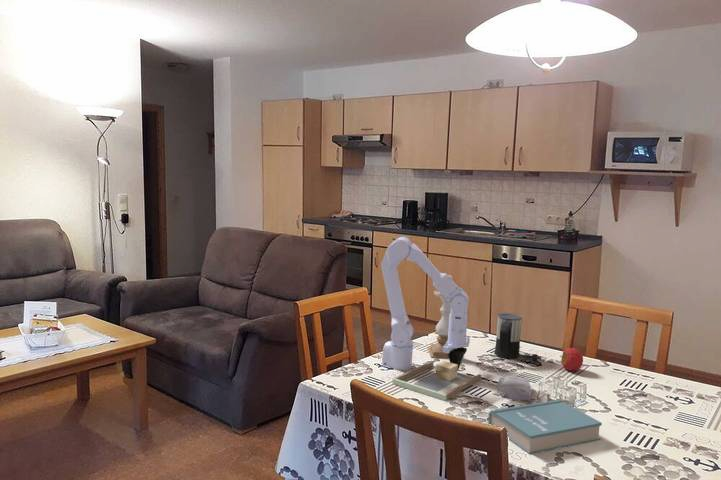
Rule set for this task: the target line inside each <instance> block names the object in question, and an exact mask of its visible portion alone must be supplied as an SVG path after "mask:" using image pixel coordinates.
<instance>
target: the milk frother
mask: <svg viewBox="0 0 721 480" xmlns="http://www.w3.org/2000/svg"><path fill="white" fill-rule="evenodd" d="M522 321H523V316H522V315H519V314H516V313H511V312H499V313H497V323H496V324H497V326H496V337H495V339H496V340H495V347H494V355H495V356H498V357H500V358H504V359H517V358H521V359H531V361H532V362H538V360H542V357H541V356H539V355H538V354H537V353H531V354H520V348H521V347H520V345H521V344H520V343H521V334H522Z"/></svg>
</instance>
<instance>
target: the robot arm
mask: <svg viewBox="0 0 721 480" xmlns="http://www.w3.org/2000/svg"><path fill="white" fill-rule="evenodd" d="M405 258H406V261H408V262H412V263H416V264H417V265H418V266H419V267H420V268H421V269H422V270H423V271H424V272H425V273H426V274H427V275H428V276H429V277H430V278H431V279H432V286H433V287H434V288H435V290H438V291H439V293H440V294H441V295H442V296H443V297H444V298H445V299H446V300H448V301H449V304H450V307H451V312H450V315H449V330H448V341H447V342H446V344H445V346H443V352H444V353H447V354H448V357H449V359H448V360H449V362H450V363H454V364H457V365H458V370H457V371H459V370H460V367H461V364H462V361H463V358H464V356H465V354H466V353H467V352H468V349H467V348H468V347H469V346H470V343H471V342H470V341H471V340H470V337H467V328H468V311H469V310H468V308H469V303H470V302H469V301H470V300H469V295H468V294H467V292H466V290H463V288H462V287H461V286H460V287H459V286H458V284H456V282H455V281H454V280H453V276H452V275H451V274H449V275H448V273H444V272H440V271H439V269H437V267H436V266H435V265H434V264H433V263H432V262H431V260H430V259H429V258H428V257H427V255H426V254H425V253H424V252H423V251H422V250H421V249H420V248H419V247H418V245H417V244H416V243H414V242H412V240H411V239H410V238H409V237H407V236H400V237H397V238H396V239H395V240H393V241H392V242H391V243H390V244H389V246H387V248H386V251H385V253H384V256H383V259H382V261H381V264H380V266H381V268H380V269H381V272H382V277H383V283H384V288H385V292H386V298H387V302H388V307H389V311H390V316H391V324H390V325H391V333H390V339H391V340H388V341H387V342H385V344H384V345H383V349H382V361H381V368H383V367H385V366H386V367H389V368H391V369H393V370H399V371H407V370H408V371H409V370H410V369H412V367H413V347H414V346H413V345H414V343H413V342H412V339H411V338H412V337H413V335H414V332H415V330H414V326H413V325H412V324H411V322H410V320H409V316H408V314H407V313H406V312H407V311H406V307H405V302H404V296H403V292H402V287H401V283H400V282H401V280H400V277H399V271H398V267H399V265H400V263H401V262H402V261H403V260H404V259H405Z"/></svg>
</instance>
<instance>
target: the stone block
mask: <svg viewBox="0 0 721 480" xmlns="http://www.w3.org/2000/svg"><path fill="white" fill-rule="evenodd" d="M497 381H498V382H497V384H496V389H498V392H500V393H503V394H504V395H503V396H501V398H503V399H507V400H515V401H527V402H529V401H531V398H532V397H531V396H532V385H531V384H530V380H529V378H523V377H520V376H519V377H518V376H511V375H509V376H503V377H499V378H498V380H497Z"/></svg>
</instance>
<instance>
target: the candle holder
mask: <svg viewBox="0 0 721 480" xmlns="http://www.w3.org/2000/svg"><path fill="white" fill-rule="evenodd" d="M433 295H434V296H437V297H440V300H441V302H442V304H441V307H440V308H439V312H440V313H441V317H440V320H439V321H437V322H438V323H436V326H435V332H436V333H437V334H438V335H437V337H436V341H437V342H436V343H432V344H430V346H429V347H428V348H427V350H428V353H429V357H430V358H431V359H444V360H446V359H447V360H449V357H448V354H447V353H444V352H443V346H445V344H446V342H447V341H448V330H449V315H450V312H451V307H450V304H449V301H448V300H446V299H445V298H444V297H443V296H442V295H441V294H440V293H439V291H438V290H437V289H435V290H434V291H433Z"/></svg>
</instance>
